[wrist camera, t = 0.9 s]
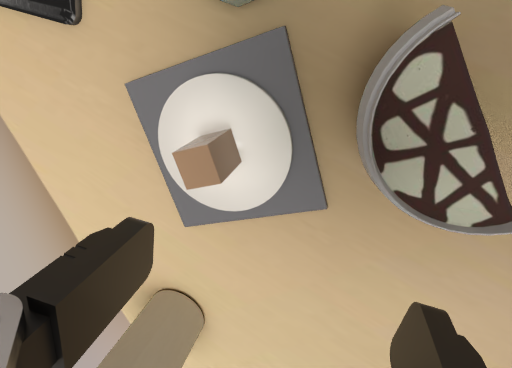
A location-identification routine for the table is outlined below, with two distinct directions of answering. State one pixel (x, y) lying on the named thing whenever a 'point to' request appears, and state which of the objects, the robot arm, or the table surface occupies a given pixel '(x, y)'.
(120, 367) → the travel mug
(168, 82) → the mat
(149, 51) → the table surface
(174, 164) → the lid
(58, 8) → the phone
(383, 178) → the food container
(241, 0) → the bowl
